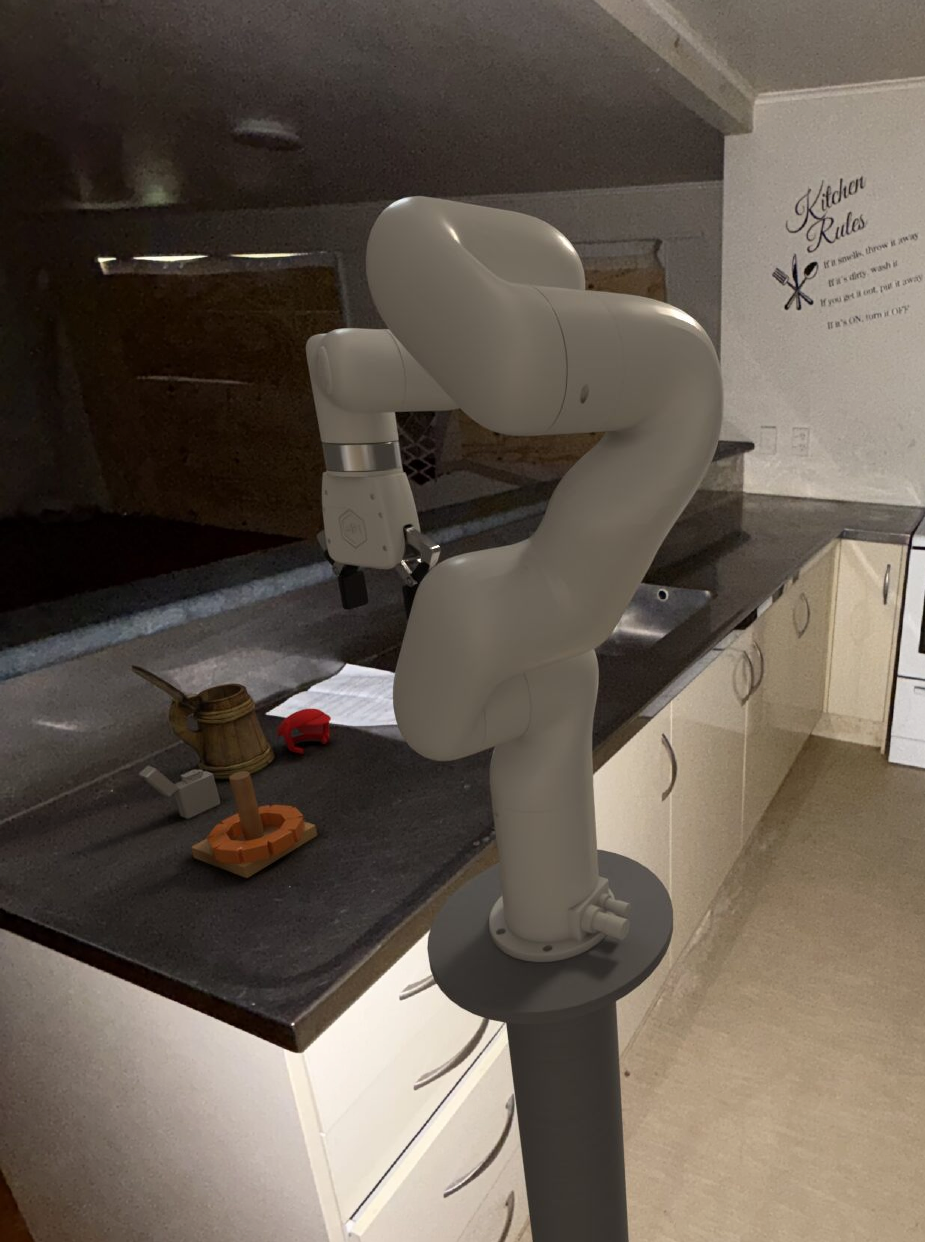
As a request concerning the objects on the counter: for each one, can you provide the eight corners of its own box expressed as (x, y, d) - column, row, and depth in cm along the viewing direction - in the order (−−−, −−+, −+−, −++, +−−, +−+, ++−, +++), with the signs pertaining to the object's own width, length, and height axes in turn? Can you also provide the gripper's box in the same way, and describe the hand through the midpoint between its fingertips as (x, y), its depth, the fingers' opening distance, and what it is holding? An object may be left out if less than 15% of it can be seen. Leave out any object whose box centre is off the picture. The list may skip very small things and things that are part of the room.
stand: (317, 835, 90) (302, 765, 86) (246, 878, 82) (227, 803, 79) (266, 818, 93) (249, 750, 90) (193, 858, 86) (172, 785, 82)
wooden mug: (151, 783, 101) (113, 658, 95) (253, 744, 112) (226, 630, 105) (183, 802, 97) (146, 672, 90) (287, 759, 107) (260, 641, 101)
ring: (322, 829, 88) (319, 815, 88) (244, 873, 81) (241, 859, 80) (272, 809, 92) (269, 797, 92) (192, 850, 84) (189, 837, 84)
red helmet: (271, 757, 108) (262, 719, 106) (291, 738, 113) (284, 702, 111) (327, 756, 108) (320, 719, 106) (345, 738, 114) (338, 702, 112)
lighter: (213, 799, 97) (198, 744, 94) (221, 803, 96) (206, 747, 94) (153, 827, 91) (136, 769, 88) (161, 830, 90) (144, 772, 88)
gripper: (275, 458, 80) (305, 611, 86) (397, 467, 74) (420, 631, 80) (334, 452, 87) (358, 595, 93) (451, 460, 80) (469, 612, 86)
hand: (387, 611), depth 86 cm, fingers open, 9 cm apart
